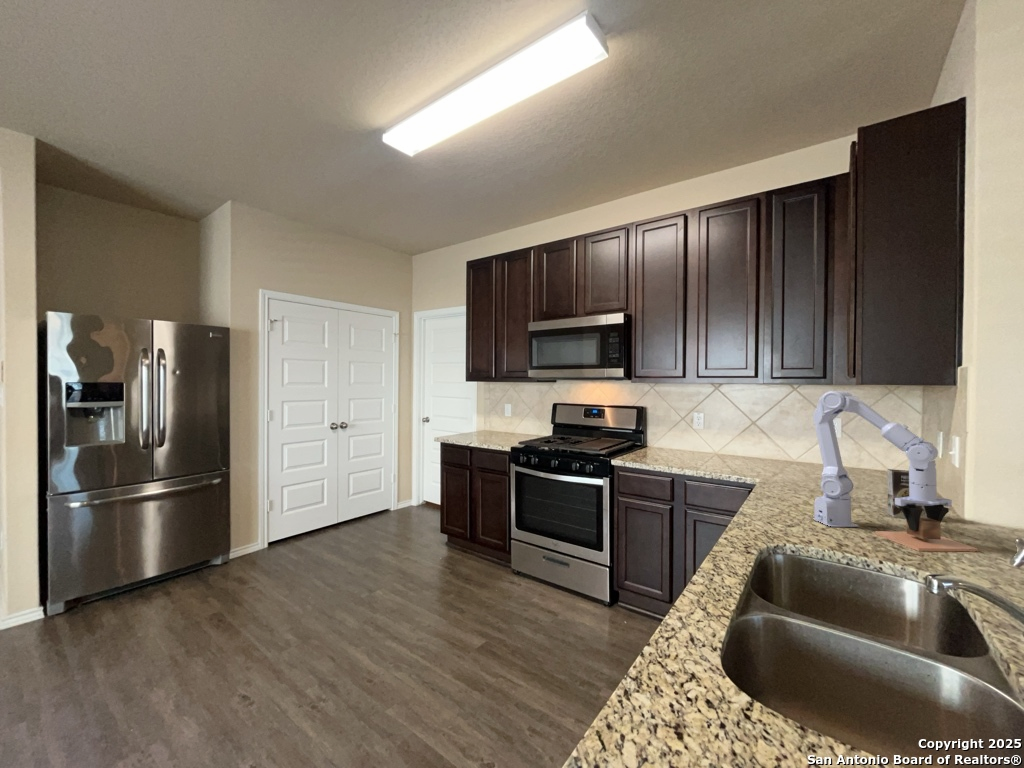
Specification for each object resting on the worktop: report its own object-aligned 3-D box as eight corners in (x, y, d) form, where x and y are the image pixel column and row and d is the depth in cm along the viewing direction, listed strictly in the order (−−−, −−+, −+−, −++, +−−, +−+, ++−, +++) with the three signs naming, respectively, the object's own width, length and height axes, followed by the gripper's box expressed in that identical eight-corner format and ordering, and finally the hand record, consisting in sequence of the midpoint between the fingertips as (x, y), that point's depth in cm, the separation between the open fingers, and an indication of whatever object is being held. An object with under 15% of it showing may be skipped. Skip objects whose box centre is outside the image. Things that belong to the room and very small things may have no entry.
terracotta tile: (918, 551, 114) (918, 548, 115) (875, 533, 128) (875, 531, 129) (978, 551, 114) (978, 548, 114) (928, 534, 128) (928, 531, 128)
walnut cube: (922, 539, 119) (922, 521, 119) (906, 533, 124) (906, 516, 124) (940, 539, 119) (940, 521, 119) (923, 533, 124) (923, 516, 124)
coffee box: (893, 517, 145) (892, 471, 146) (887, 513, 151) (886, 468, 151) (928, 521, 141) (927, 473, 141) (920, 516, 147) (920, 470, 147)
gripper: (910, 486, 118) (910, 534, 118) (962, 486, 118) (963, 535, 117) (888, 481, 125) (888, 526, 125) (937, 481, 125) (938, 527, 124)
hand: (923, 530), depth 121 cm, fingers closed on walnut cube, 5 cm apart
